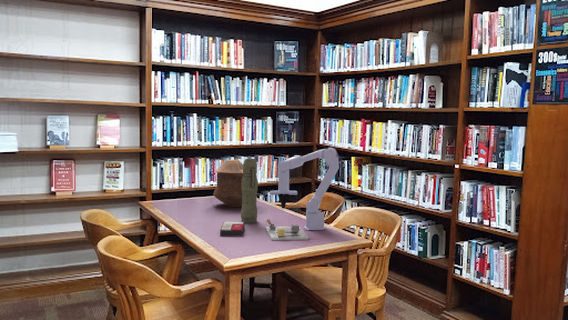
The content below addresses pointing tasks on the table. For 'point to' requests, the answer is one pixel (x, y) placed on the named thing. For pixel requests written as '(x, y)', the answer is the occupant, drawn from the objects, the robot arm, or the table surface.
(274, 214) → the table surface
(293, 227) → the slider grey
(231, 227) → the red and grey box
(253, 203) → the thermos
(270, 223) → the toggle lever
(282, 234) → the slider brass
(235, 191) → the pottery vessel
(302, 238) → the panel
